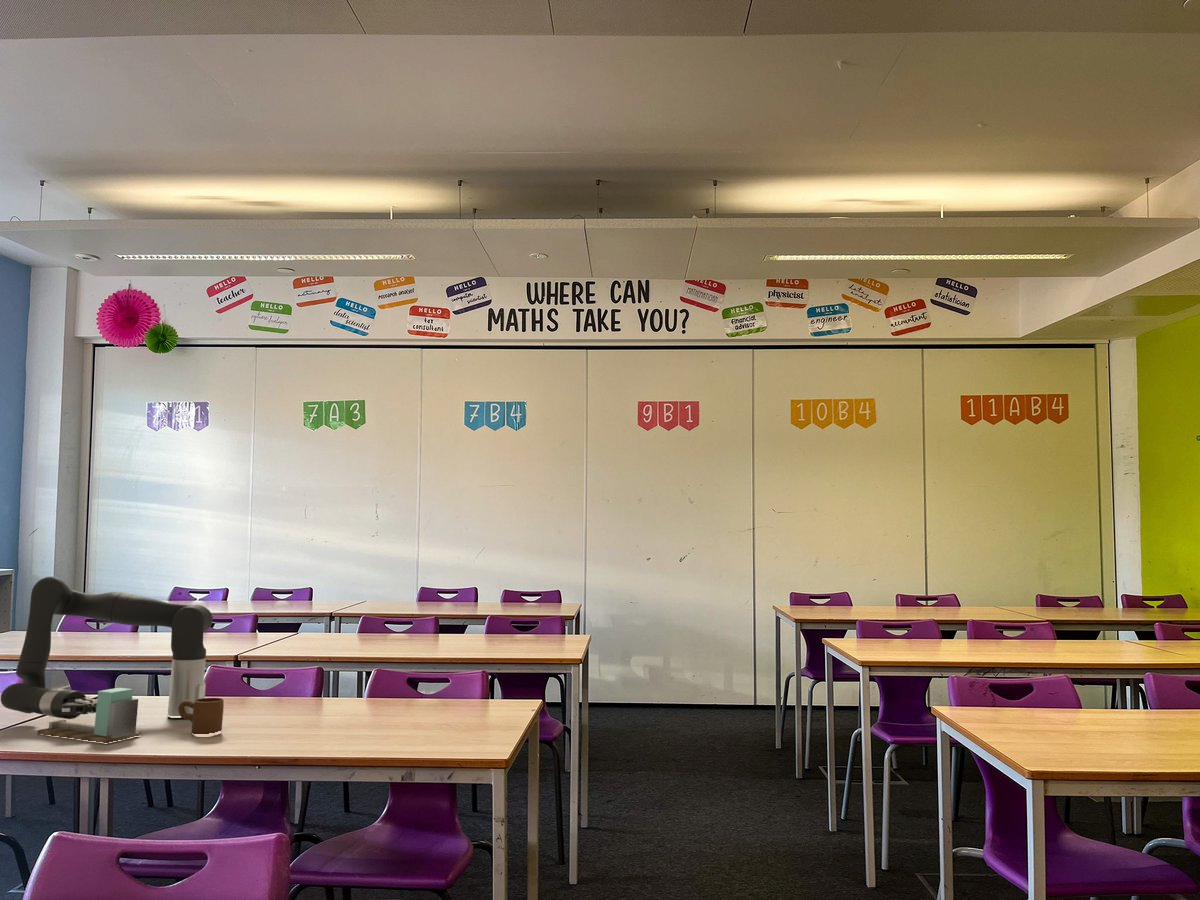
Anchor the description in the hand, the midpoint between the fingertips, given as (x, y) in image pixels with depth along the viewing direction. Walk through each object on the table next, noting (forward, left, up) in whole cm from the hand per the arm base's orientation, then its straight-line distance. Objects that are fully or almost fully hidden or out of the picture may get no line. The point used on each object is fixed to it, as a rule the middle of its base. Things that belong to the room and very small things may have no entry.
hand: (107, 709), depth 222 cm
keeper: (-2, +1, -6) cm, 6 cm away
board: (+5, -3, -7) cm, 10 cm away
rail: (+5, -3, -6) cm, 9 cm away
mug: (-23, -3, -8) cm, 24 cm away
